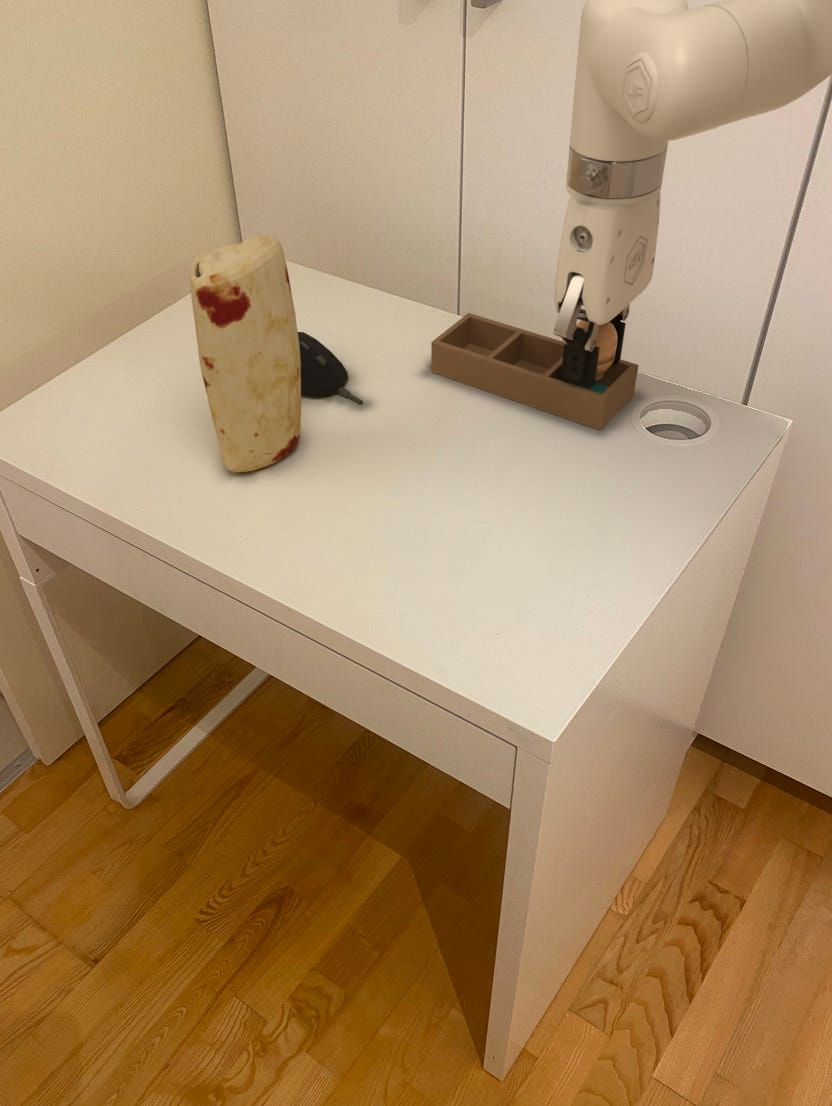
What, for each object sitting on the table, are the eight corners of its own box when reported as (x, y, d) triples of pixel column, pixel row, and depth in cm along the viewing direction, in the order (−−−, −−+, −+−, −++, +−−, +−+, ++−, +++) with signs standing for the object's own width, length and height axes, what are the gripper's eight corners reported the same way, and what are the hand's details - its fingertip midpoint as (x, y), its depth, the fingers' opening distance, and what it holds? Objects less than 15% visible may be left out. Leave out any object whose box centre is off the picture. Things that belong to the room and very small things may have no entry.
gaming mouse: (339, 419, 95) (336, 382, 92) (237, 368, 103) (231, 333, 100) (383, 390, 98) (381, 354, 95) (281, 342, 106) (276, 308, 103)
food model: (250, 494, 88) (213, 282, 74) (202, 465, 92) (157, 257, 77) (327, 443, 93) (306, 233, 78) (278, 417, 96) (249, 212, 82)
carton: (467, 342, 103) (468, 312, 101) (633, 396, 95) (638, 364, 92) (431, 372, 100) (431, 341, 98) (600, 430, 91) (604, 399, 89)
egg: (615, 363, 93) (622, 308, 89) (609, 388, 90) (617, 332, 86) (570, 359, 94) (575, 304, 90) (563, 383, 91) (569, 328, 87)
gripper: (608, 218, 73) (582, 427, 86) (705, 140, 81) (668, 341, 95) (519, 197, 76) (508, 402, 89) (621, 124, 85) (597, 321, 98)
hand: (590, 368), depth 92 cm, fingers closed on egg, 4 cm apart
